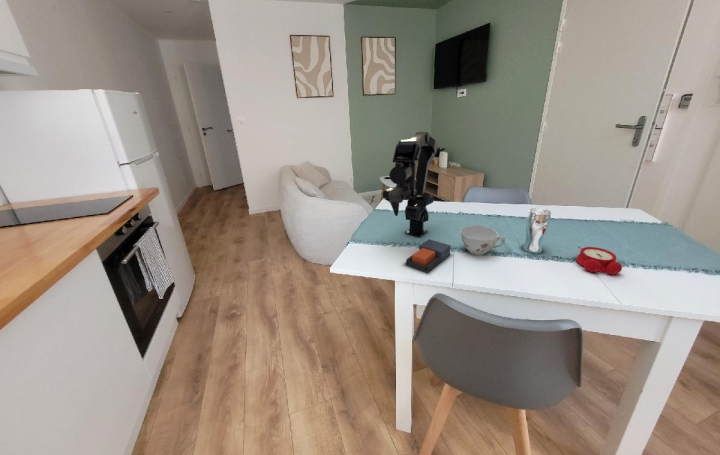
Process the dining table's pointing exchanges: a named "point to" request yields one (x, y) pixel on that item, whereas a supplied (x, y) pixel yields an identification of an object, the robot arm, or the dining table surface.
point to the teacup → (480, 239)
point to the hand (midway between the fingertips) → (406, 218)
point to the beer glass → (536, 229)
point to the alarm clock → (598, 260)
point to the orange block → (423, 256)
